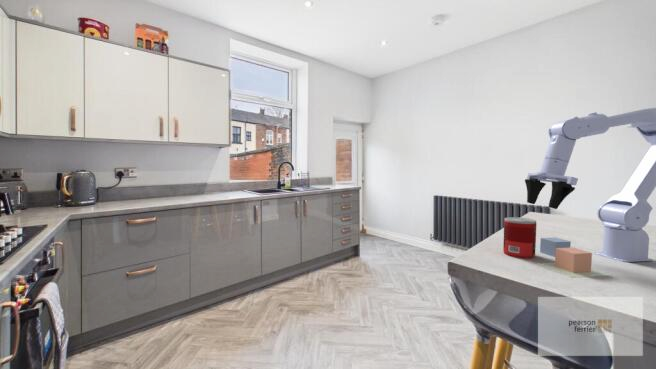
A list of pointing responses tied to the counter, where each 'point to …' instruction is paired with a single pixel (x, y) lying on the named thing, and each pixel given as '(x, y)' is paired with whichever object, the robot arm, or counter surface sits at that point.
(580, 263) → the terracotta brick
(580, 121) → the robot arm
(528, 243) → the canned food
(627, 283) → the counter surface
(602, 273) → the plate
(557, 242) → the blue brick
